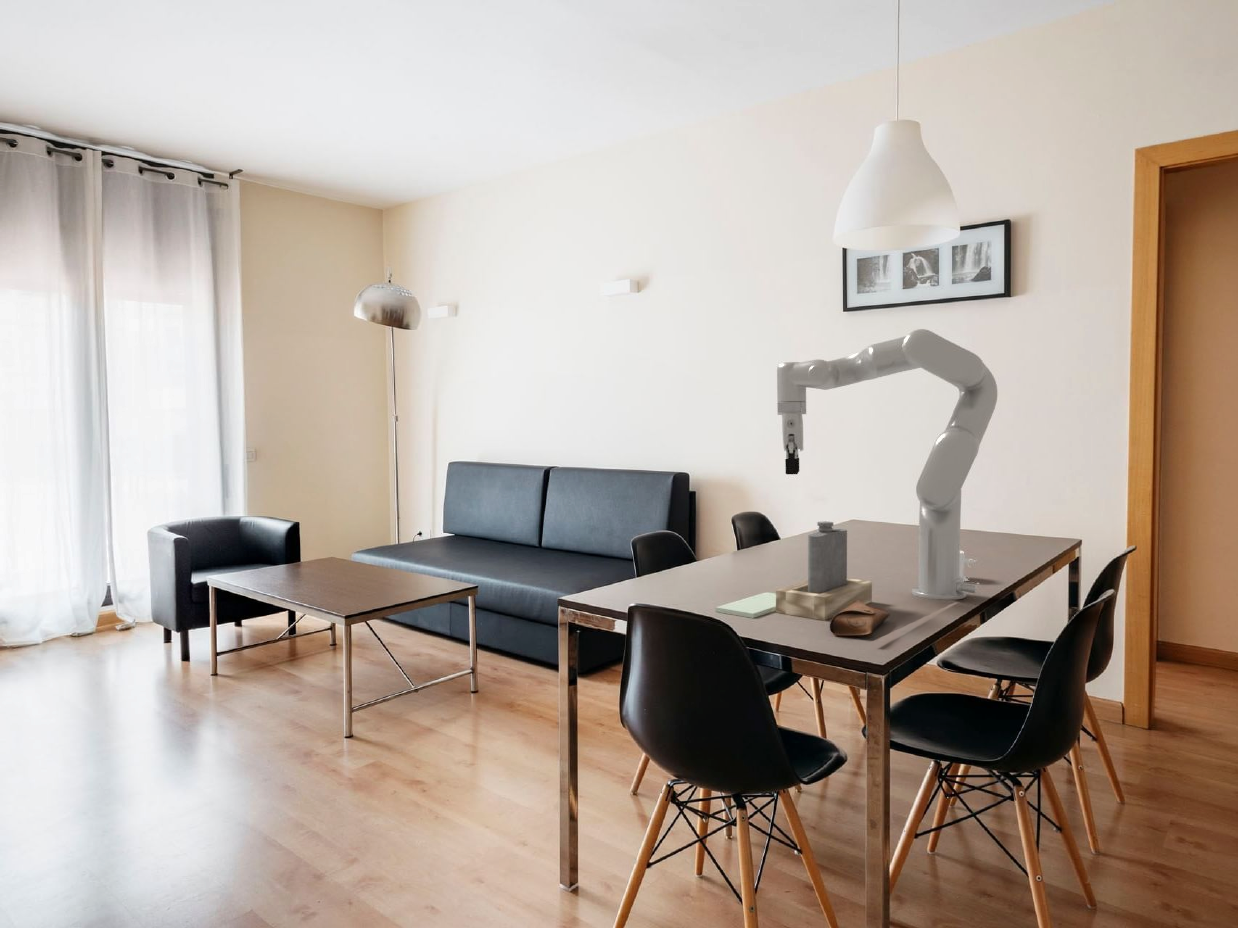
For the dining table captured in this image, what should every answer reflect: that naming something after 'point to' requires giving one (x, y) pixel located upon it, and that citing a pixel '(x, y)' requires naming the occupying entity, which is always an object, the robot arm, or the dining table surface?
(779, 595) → the beige open box
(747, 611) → the mat
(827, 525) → the hip flask
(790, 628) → the dining table surface
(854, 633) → the sunglasses case
